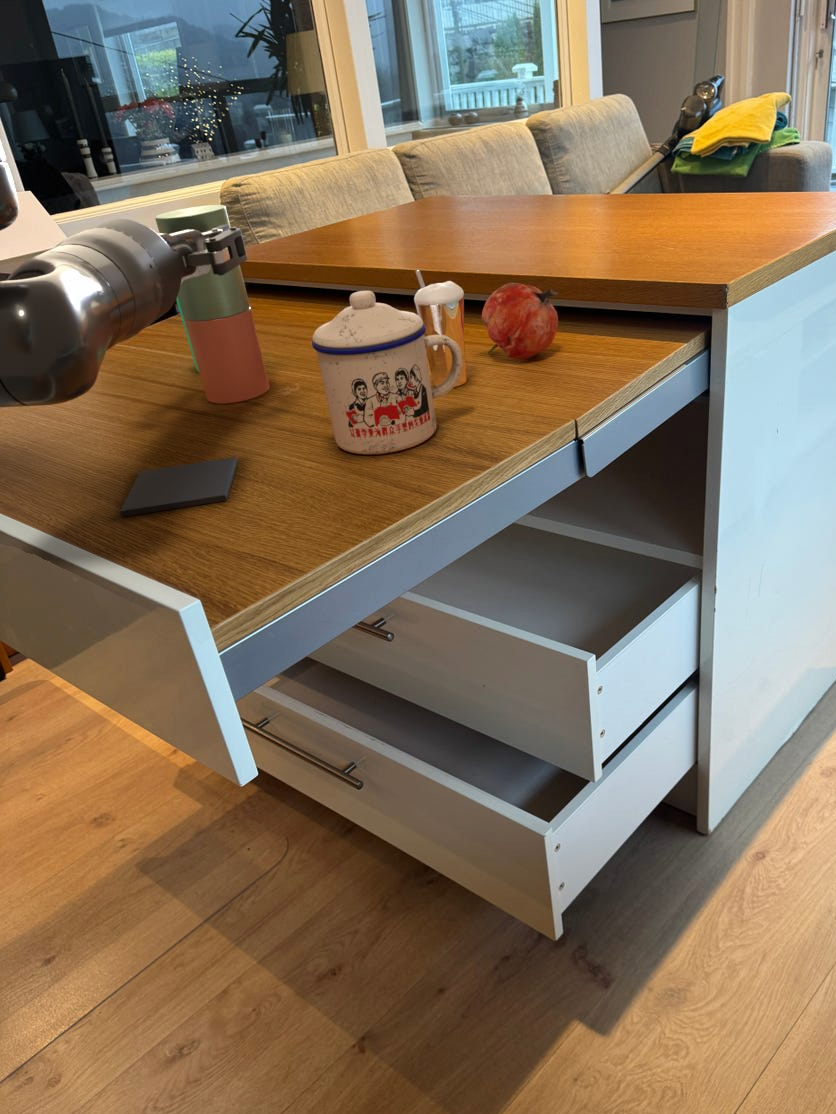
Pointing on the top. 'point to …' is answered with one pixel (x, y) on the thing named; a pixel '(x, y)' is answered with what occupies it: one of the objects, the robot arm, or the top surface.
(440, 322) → the milkshake
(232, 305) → the upper tin
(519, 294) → the pomegranate
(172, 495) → the mat
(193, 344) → the lower tin
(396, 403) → the teacup with lid
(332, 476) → the top surface
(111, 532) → the top surface
